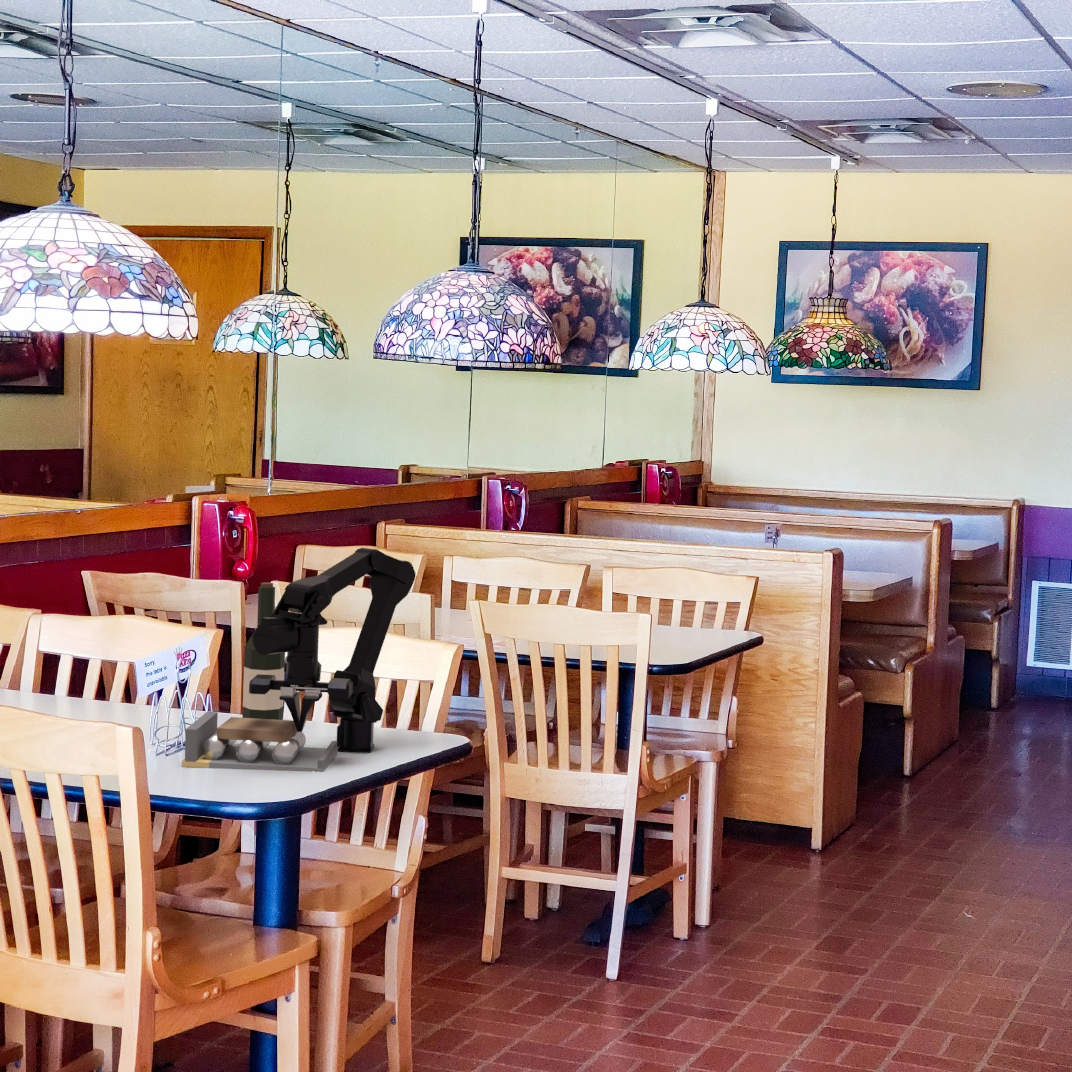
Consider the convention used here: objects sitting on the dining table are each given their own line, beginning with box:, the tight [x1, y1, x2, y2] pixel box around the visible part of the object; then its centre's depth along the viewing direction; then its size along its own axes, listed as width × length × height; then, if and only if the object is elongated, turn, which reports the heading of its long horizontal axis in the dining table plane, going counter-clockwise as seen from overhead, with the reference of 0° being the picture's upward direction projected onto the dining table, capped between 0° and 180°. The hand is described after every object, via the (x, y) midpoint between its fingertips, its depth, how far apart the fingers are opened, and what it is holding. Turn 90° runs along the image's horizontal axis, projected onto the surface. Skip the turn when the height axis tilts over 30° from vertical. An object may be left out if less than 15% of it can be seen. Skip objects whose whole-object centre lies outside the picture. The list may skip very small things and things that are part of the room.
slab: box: [217, 716, 297, 743], centre depth 277 cm, size 13×10×2 cm
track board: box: [181, 711, 338, 773], centre depth 278 cm, size 26×16×7 cm, turn 88°
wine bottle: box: [241, 581, 286, 720], centre depth 306 cm, size 8×8×30 cm
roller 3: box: [272, 731, 307, 765], centre depth 277 cm, size 12×4×4 cm
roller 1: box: [201, 731, 238, 760], centre depth 278 cm, size 12×4×4 cm
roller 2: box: [236, 740, 271, 763], centre depth 277 cm, size 12×4×4 cm
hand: (299, 731), depth 277 cm, fingers closed
